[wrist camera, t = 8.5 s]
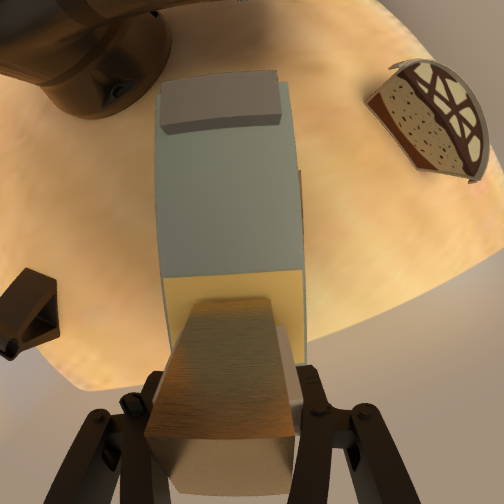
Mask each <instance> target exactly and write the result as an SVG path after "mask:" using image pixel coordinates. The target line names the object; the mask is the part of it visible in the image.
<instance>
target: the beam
mask: <svg viewBox="0 0 504 504" xmlns="http://www.w3.org/2000/svg"><path fill="white" fill-rule="evenodd" d="M155 203H156V224H157V239H158V252H159V264H160V274H161V283H162V292H163V300H164V308H165V316H166V323H167V329H168V336H169V342H170V348H171V352H172V350H173V347H174V345H175V343H176V340H177V338H178V335H179V333H180V331H181V330H183V329H184V327H185V324H186V322H187V319H188V317H189V314H190V312H191V310H192V307H193V305H194V303H208V302H228V301H246V300H261V299H271V304H272V310H273V315H274V321H275V326H282V325H285V326H286V330H287V334H288V338H289V342H290V346H291V350H292V354H293V358H294V362H295V366H304V365H307V325H306V287H305V264H304V244H303V228H302V214H301V200H300V188H299V177H298V166H297V156H296V147H295V137H294V129H293V120H292V112H291V104H290V97H289V90H288V83H287V82H278V77H277V70H266V71H243V72H230V73H219V74H210V75H202V76H194V77H188V78H181V79H175V80H170V81H165V82H162V83H161V94H157V98H156V117H155Z"/></svg>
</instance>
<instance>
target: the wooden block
mask: <svg viewBox="0 0 504 504" xmlns="http://www.w3.org/2000/svg"><path fill="white" fill-rule="evenodd" d="M144 436H145V438H146V440H147V442H148V443H149V445H150V447H151V449H152V451H153V452H154V454H155V456H156V458H157V459H158V461H159V463H160V464H161V466H162V468H163V469H164V471H165V472H166V474H167V476H168V477H169V479H170V480H171V482H172V483H173V485H174V486H175V488H176V489H177V491H178V492H179V493H183V494H194V495H208V496H266V495H279V494H289V493H290V488H291V481H292V470H293V458H294V444H295V432H294V426H293V421H292V415H291V409H290V404H289V398H288V392H287V387H286V381H285V375H284V370H283V364H282V359H281V353H280V348H279V342H278V337H277V331H276V326H275V321H274V315H273V310H272V304H271V299H261V300H246V301H228V302H208V303H194V305H193V307H192V310H191V312H190V314H189V317H188V319H187V322H186V324H185V327H184V329H183V332H182V334H181V337H180V339H179V342H178V344H177V347H176V349H175V352H174V354H173V357H172V359H171V362H170V364H169V367H168V370H167V372H166V375H165V377H164V380H163V383H162V385H161V388H160V391H159V393H158V396H157V399H156V401H155V404H154V407H153V409H152V412H151V415H150V418H149V420H148V423H147V426H146V429H145V432H144Z"/></svg>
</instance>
